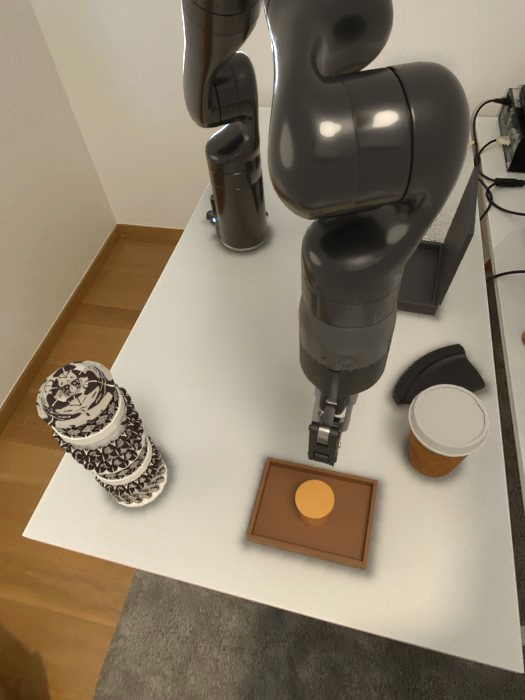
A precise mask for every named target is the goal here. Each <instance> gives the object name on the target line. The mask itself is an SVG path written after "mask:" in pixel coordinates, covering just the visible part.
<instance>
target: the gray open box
mask: <svg viewBox="0 0 525 700" xmlns="http://www.w3.org/2000/svg"><path fill="white" fill-rule="evenodd" d="M443 245H444V242H442V241H441V242H440V241H433V240H426V239H422V241H421V242H420V244H419V245H418V247H417V249H416V250H415V252H414V253H413V255H412V256H411V257H410V259H409V260H408V261H407V263H406V265H405V268H404V273H403V278H402V282H401V286H400V291H399V295H398V300H397V311H402V312H403V311H405V312H410V313H416V314H422V315H427V316H433V317H435V316H436V313H437V310H438V306H439V305H436V299H437V292H438V284H439V276H440V268H441V260H442V253H443Z"/></svg>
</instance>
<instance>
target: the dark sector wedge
mask: <svg viewBox="0 0 525 700" xmlns="http://www.w3.org/2000/svg"><path fill="white" fill-rule="evenodd" d="M441 384H450V385H456V386H459V387H463V388H465V389H467V390H469V391H470V392H472V393H473V394H474V393H475V392H477V391H480V390H483V389H484V388H485V386H486V383H485V380H484V379H483V377H482V375H481V374H480V373H479V370H477V369H476V367H475V366H474V364H473V363H471V361H470V360H469V359H468V357H467V354H466V350H465V348H464V346H463V345H462V344H461V343H455V344H451V345H446V346H442V347H439V348H437V349H434V350H432V351H429V352H428V353H426V354H425V355H423V356H421V357H420V358H418V359H417V360H416V361H415V362H413V363H412V364H411V366H409V367H408V368H407V369H406V370H405V372H404V373H403V374H402V375H401V377H400V378H399V380H398V382H397V383H396V386H395V388H394V390H393V396H392V398H393V401H394V402H395V405H397V406H399V405H407V404H411V403H412V401H413V399H414V398H415V397H416V396H417V395H418V394H419V393H420V392H422V391H424V390H426V389H428V388H430V387H432V386H435V385H441Z"/></svg>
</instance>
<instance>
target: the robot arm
mask: <svg viewBox="0 0 525 700" xmlns="http://www.w3.org/2000/svg"><path fill="white" fill-rule="evenodd" d="M180 3H181V13H182V23H183V36H184V38H183V39H184V45H183V46H184V47H183V62H182V63H183V65H182V89H183V97H184V101H185V106H186V110H187V112H188V115H189V117H190V118H191V120H192V121H193V122H194V124H195V125H196V126H198V127H199V128H202V129H213V128H219V127H222V128H221V129H219V130H218V131H216V132H215V133H214V134H212V135H211V137H209V139H208V140H207V142H205V143H206V144H205V147H204V154H205V161H206V165H207V169H208V175H209V180H210V185H211V190H212V194H211V195H210V196H209V201H210V205H211V210H207V212H206V215H205V218H206V220H207V221H209V223H210V225H214V226H215V231H216V236H217V238H220V241H221V243H222V245H223V246H224V248H227V249H228V250H230V251H233V252H238V253H247V252H251V251H255V250H257V249H259V248H260V247H262V246H264V245H265V243H266V242H267V240H268V237H269V228H268V222H267V218H269V212H268V211H267V210H266V209H267V208H266V199H265V198H266V197H265V188H264V187H265V186H264V176H263V167H262V166H263V164H262V156H261V154H262V153H261V134H260V133H261V131H260V106H259V105H260V104H259V103H260V101H259V86H258V79H257V75H256V70H255V66H254V64H253V62H252V60H251V58H250V57H249V55H248V54H246V53H245V52H243V51H239V50H240V49H241V48H242V47H243V46H244V44H245V43H246V42H247V41H248V39H249V38H250V37H251V35H252V33H253V32H254V30H255V29H256V26H257V24H258V21H259V18H260V16H261V12H262V8H263V12H264V16H265V20H266V24H267V28H268V33H269V38H270V43H271V51H272V62H273V82H272V83H273V84H272V98H271V106H270V114H269V115H270V116H269V126H268V135H267V166H268V167H267V169H268V174H269V179H270V182H271V185H272V188H273V190H274V192H275V194H276V195H277V198H278V199H279V200H280V201H281V202H282V204H283V205H284V206H285V207H286V208H287V209H288V210H289V211H290V212H292V213H293V214H294V215H296V216H298V217H299V218H302V219H305V220H311V221H312V223H311V224H310V225H309V226H308V227H307V229H306V231H305V233H304V235H303V237H302V242H301V248H300V249H301V250H300V254H301V255H300V274H301V275H300V278H301V279H300V281H301V283H300V284H301V285H300V286H301V289H300V290H301V295H300V300H299V306H298V347H299V365H300V368H301V370H302V373H303V375H304V376H305V378H306V379H307V380H308V381H309V382H310V383H311V384H312V386H314V389H313V390H314V391H313V395H314V397H315V401H314V405H313V410H312V415H311V416H312V417H311V423H310V424H309V425H308V429H307V430H308V447H307V449H308V451H307V454H306V455H307V460H309V461H314V462H319V463H322V464H326V465H328V466H331V467H334V466H335V464H337V462H338V461H337V460H338V455H339V449H341V446H342V442H341V440H342V436H343V435H342V434H343V433H345V432H347V431H348V429H349V426H350V423H351V418H352V412H353V409H354V406H355V405H356V403H357V401H358V398H359V394H361V393H363V392H365V391H368V390H369V389H371V388H372V387H373V386H374V385H376V384H377V383H378V382H379V381H380V380H381V377H382V376H383V375H384V372H385V369H386V366H387V362H388V358H389V353H390V349H391V344H392V341H393V336H394V332H395V328H396V323H397V316H398V310H397V300H398V295H399V291H400V286H401V282H402V278H403V273H404V268H405V265H406V263H407V261H408V260H409V259H410V257H411V256H412V255H413V253H414V252H415V250H416V249H417V247H418V245H419V244H420V242H421V241H422V240H424V238H425V236H426V235H427V233H428V232H429V229H430V228H431V227H432V226H433V223H434V222H435V220H436V219H437V217H439V214H440V213H441V211H442V209H443V208H444V207H445V205H446V204H447V201H448V200H449V198H450V197H451V195H452V193H453V191H454V189H455V187H456V185H457V183H458V181H459V178H460V176H461V173H462V171H463V169H464V165H465V162H466V159H467V155H468V151H469V145H470V139H471V111H470V110H471V109H470V104H469V101H468V98H467V94H466V91H465V89H464V87H463V84H462V83H461V81H460V80H459V79H458V77H457V76H456V75H455V74H454V73H453V72H452V70H450V69H449V68H448V67H446V66H445V65H443V64H440V63H437V62H434V61H411V62H404V63H399V64H398V63H397V64H394V65H388V66H386V67H383V66H382V67H376V68H370V69H365V68H367V67H368V66H369V65H370V64H371V63H373V62H374V61H375V60H376V59H377V58H378V57H379V55H380V54H381V53H382V51H383V50H384V49H385V47H386V45H387V43H388V41H389V39H390V36H391V34H392V31H393V25H394V4H393V3H394V2H393V0H180ZM364 69H365V70H364ZM344 411H345V413H344V416H343V417H338V416H339V415H342V414H343V412H344Z"/></svg>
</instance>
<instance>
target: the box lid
mask: <svg viewBox="0 0 525 700" xmlns="http://www.w3.org/2000/svg"><path fill="white" fill-rule="evenodd" d="M479 178H480V167H479V166H476V165H475V166H473V169H472V171H471V173H470V176H469V178H468V181H467V183H466V185H465V187H464V191H463V193H462V196H461V198H460V200H459V203H458V205H457V207H456V210H455V213H454V215H453V218H452V220H451V222H450V224H449V227H448V229H447V232H446V234H445V237H444V239H443V243H444V245H443V253H442V260H441V268H440V276H439V284H438V292H437V299H436V305H438V306H442V304H443V301H444V299H445V297H446V296H447V293H448V291H449V289H450V287H451V284H452V282H453V280H454V278H455V276H456V274H457V272H458V269H459V268H460V265H461V263H462V261H463V259H464V257H465V254H466V252H467V250H468V248H469V246H470V244H471V242H472V240H473V237H474V236H475V230H476V229H475V228H476V217H477V216H476V215H477V206H478V205H477V203H478V192H479Z"/></svg>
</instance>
